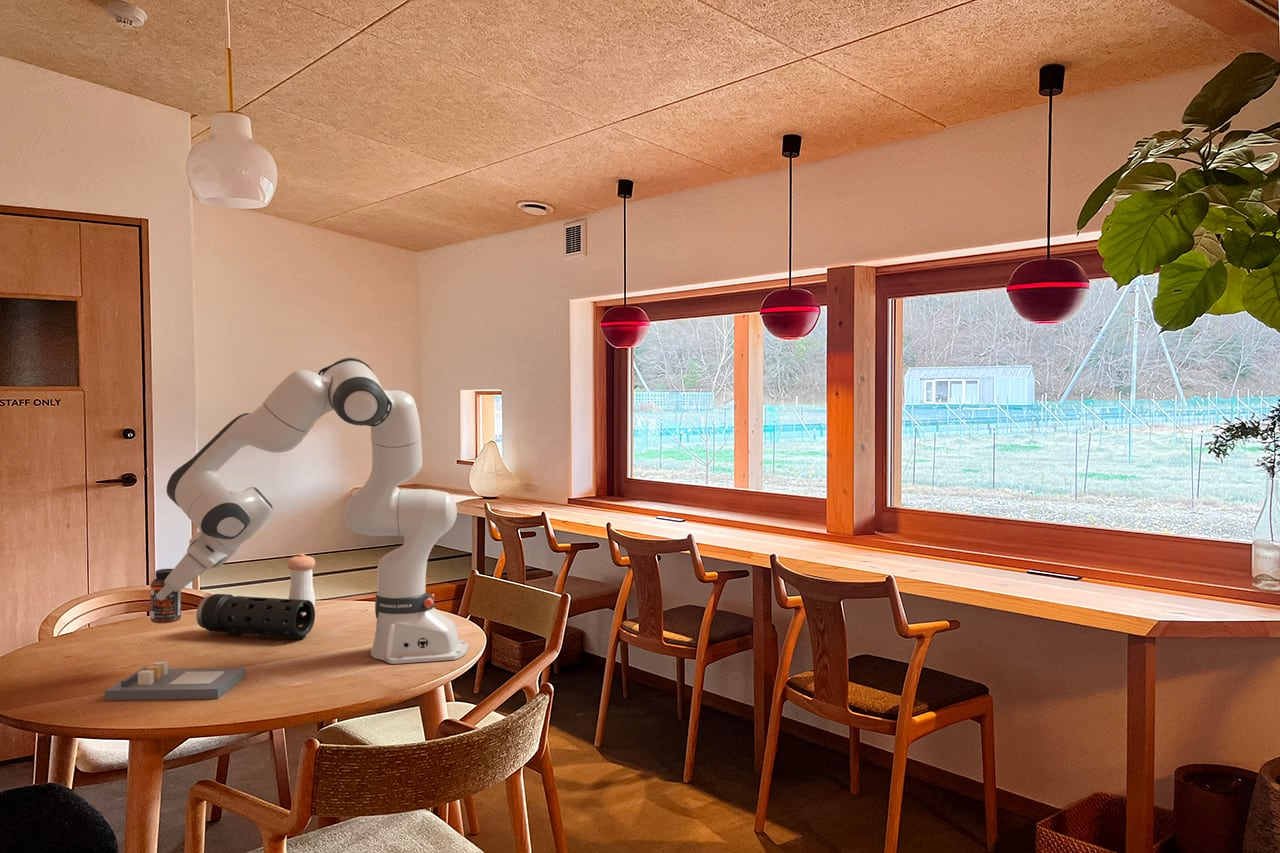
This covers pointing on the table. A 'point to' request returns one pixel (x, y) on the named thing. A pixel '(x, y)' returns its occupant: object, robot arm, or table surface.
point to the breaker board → (175, 683)
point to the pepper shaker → (302, 579)
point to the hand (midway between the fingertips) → (162, 594)
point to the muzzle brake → (256, 616)
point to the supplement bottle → (164, 600)
